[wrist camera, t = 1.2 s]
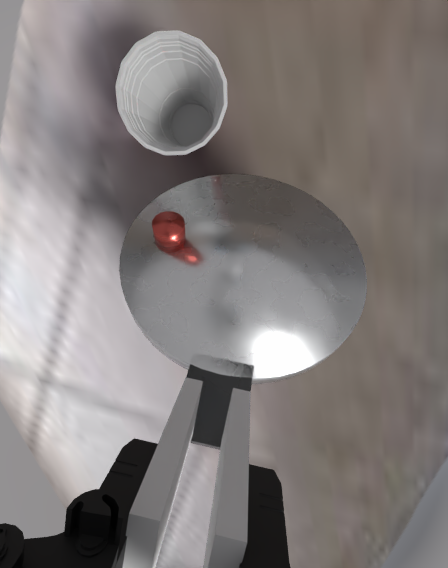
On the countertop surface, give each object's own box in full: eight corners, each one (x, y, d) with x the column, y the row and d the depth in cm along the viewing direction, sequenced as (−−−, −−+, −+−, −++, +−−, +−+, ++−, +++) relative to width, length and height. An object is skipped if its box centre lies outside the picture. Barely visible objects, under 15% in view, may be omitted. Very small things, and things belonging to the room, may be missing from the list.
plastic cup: (206, 186, 44) (189, 176, 32) (138, 142, 43) (95, 115, 31) (251, 111, 41) (250, 70, 29) (179, 63, 41) (149, 3, 29)
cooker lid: (164, 170, 32) (161, 138, 29) (356, 207, 31) (372, 178, 28) (53, 411, 20) (28, 398, 17) (364, 483, 19) (395, 483, 16)
